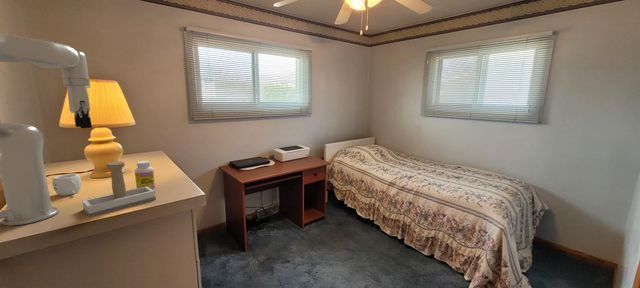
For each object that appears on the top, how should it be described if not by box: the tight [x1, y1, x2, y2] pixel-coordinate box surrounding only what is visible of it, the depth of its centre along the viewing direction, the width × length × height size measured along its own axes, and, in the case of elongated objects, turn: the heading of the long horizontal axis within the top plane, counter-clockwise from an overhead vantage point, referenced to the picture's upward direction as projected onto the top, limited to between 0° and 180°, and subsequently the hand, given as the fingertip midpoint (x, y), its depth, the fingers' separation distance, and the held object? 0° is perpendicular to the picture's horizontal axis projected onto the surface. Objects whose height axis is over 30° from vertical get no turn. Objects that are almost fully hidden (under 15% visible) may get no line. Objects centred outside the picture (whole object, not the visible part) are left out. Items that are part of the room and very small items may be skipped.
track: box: [81, 186, 157, 217], centre depth 96 cm, size 20×10×4 cm, turn 141°
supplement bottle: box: [134, 160, 156, 191], centre depth 110 cm, size 7×7×13 cm
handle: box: [106, 160, 127, 199], centre depth 95 cm, size 5×6×15 cm
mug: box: [51, 173, 82, 197], centre depth 107 cm, size 12×8×8 cm
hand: (83, 127), depth 102 cm, fingers open, 9 cm apart
